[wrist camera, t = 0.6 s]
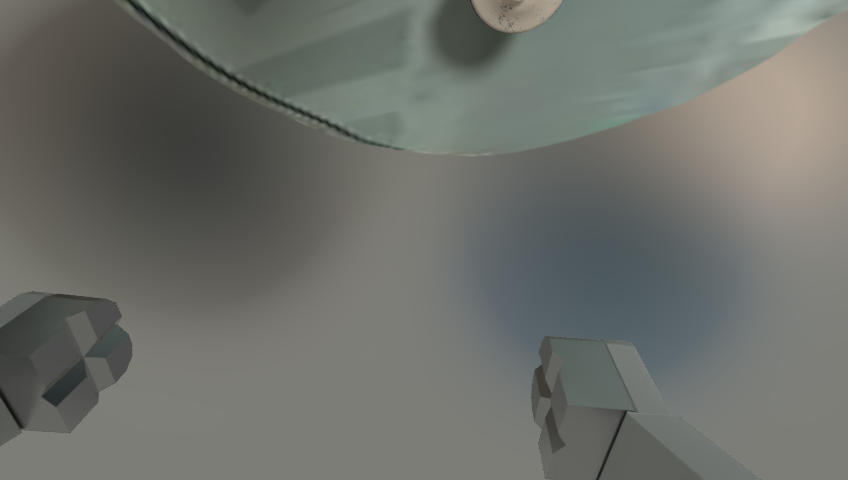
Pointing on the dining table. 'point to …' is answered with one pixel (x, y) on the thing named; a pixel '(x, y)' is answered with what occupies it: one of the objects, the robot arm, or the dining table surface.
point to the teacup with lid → (515, 13)
